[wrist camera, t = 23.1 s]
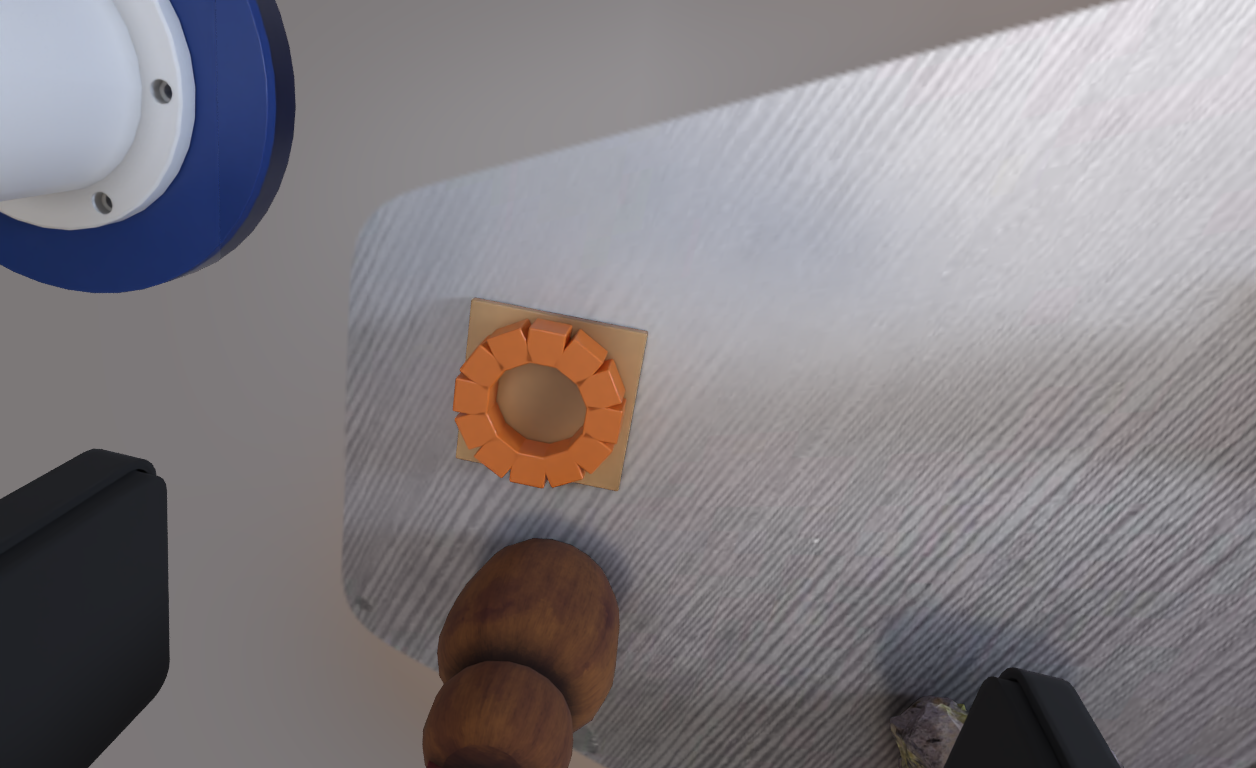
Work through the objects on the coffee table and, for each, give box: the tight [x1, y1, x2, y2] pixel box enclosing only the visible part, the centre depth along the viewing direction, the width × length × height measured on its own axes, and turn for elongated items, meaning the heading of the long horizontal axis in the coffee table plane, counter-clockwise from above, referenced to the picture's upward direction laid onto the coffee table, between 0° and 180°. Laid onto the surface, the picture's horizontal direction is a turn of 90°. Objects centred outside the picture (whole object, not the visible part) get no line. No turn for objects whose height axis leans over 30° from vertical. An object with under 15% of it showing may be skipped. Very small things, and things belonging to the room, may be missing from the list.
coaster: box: [456, 298, 648, 491], centre depth 32 cm, size 7×7×1 cm
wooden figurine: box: [423, 538, 620, 768], centre depth 28 cm, size 7×6×15 cm
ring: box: [453, 318, 626, 488], centre depth 31 cm, size 7×7×1 cm
